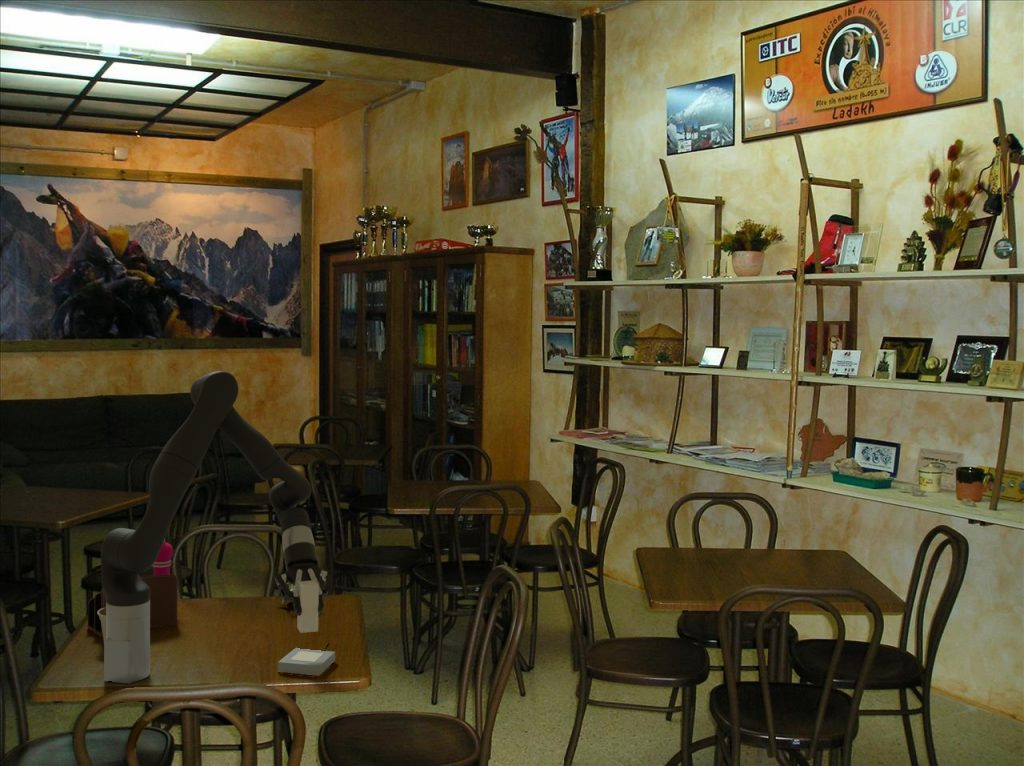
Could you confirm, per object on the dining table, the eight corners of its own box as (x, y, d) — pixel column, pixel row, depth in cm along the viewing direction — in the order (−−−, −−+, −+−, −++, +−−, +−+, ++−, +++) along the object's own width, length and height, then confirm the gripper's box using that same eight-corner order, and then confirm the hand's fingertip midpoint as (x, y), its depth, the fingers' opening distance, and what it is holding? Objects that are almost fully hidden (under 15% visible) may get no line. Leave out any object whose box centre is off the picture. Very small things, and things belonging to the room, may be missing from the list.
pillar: (318, 631, 234) (318, 584, 233) (300, 633, 232) (301, 586, 231) (314, 626, 237) (314, 580, 237) (297, 627, 236) (297, 581, 235)
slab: (319, 678, 229) (319, 665, 229) (277, 674, 231) (278, 661, 231) (334, 664, 239) (335, 651, 239) (295, 660, 241) (295, 647, 241)
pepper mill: (167, 613, 273) (167, 540, 272) (142, 611, 274) (142, 538, 273) (180, 605, 280) (180, 534, 279) (155, 604, 282) (156, 533, 280)
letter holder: (178, 624, 265) (178, 571, 264) (101, 639, 251) (102, 583, 250) (161, 615, 272) (162, 563, 271) (87, 629, 259) (87, 575, 258)
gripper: (271, 543, 237) (281, 608, 227) (331, 538, 243) (343, 602, 233) (267, 559, 243) (276, 624, 232) (325, 555, 248) (337, 617, 238)
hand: (309, 612), depth 233 cm, fingers closed on pillar, 4 cm apart
